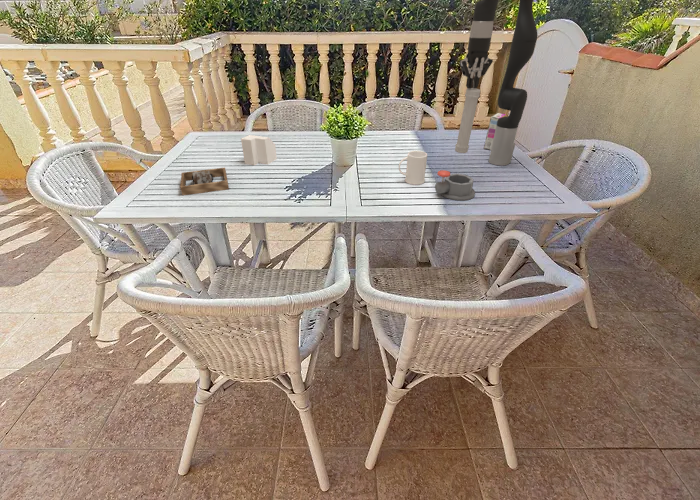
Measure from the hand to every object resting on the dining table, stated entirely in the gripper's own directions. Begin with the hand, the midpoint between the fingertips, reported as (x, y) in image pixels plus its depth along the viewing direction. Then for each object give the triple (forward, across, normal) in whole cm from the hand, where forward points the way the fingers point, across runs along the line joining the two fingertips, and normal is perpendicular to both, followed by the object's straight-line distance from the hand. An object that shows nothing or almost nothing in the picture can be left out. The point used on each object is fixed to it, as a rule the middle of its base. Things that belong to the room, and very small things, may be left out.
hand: (471, 88), depth 141 cm
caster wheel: (+37, +106, -30) cm, 116 cm away
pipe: (+25, 0, 0) cm, 25 cm away
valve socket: (+37, +9, +13) cm, 40 cm away
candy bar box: (+37, -41, -30) cm, 63 cm away
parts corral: (+37, +104, -29) cm, 114 cm away
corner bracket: (+37, +78, -49) cm, 99 cm away
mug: (+37, +20, -4) cm, 42 cm away
